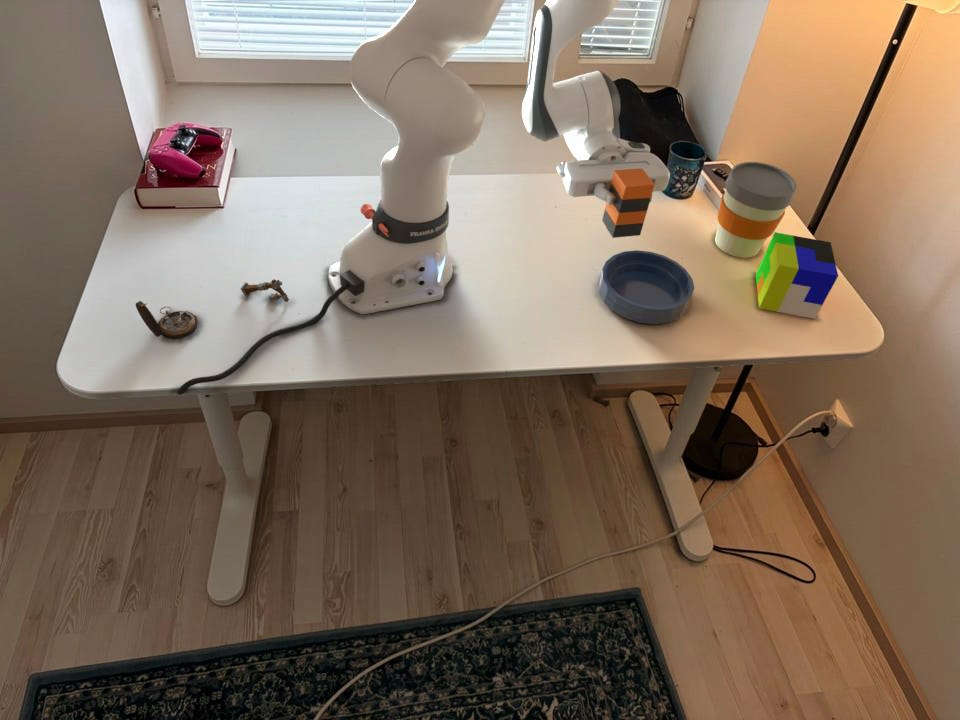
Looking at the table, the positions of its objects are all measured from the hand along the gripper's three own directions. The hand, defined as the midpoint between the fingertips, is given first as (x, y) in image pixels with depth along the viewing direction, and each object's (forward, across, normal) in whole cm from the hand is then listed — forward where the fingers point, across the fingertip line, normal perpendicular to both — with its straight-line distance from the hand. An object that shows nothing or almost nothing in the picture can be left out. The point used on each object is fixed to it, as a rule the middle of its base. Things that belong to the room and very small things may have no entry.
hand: (630, 200), depth 131 cm
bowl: (+12, 0, +12) cm, 17 cm away
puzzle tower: (-1, 0, +7) cm, 7 cm away
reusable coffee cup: (+1, +26, +12) cm, 29 cm away
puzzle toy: (+17, +27, +12) cm, 34 cm away
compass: (+7, -81, +13) cm, 83 cm away
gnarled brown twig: (+2, -66, +13) cm, 67 cm away
